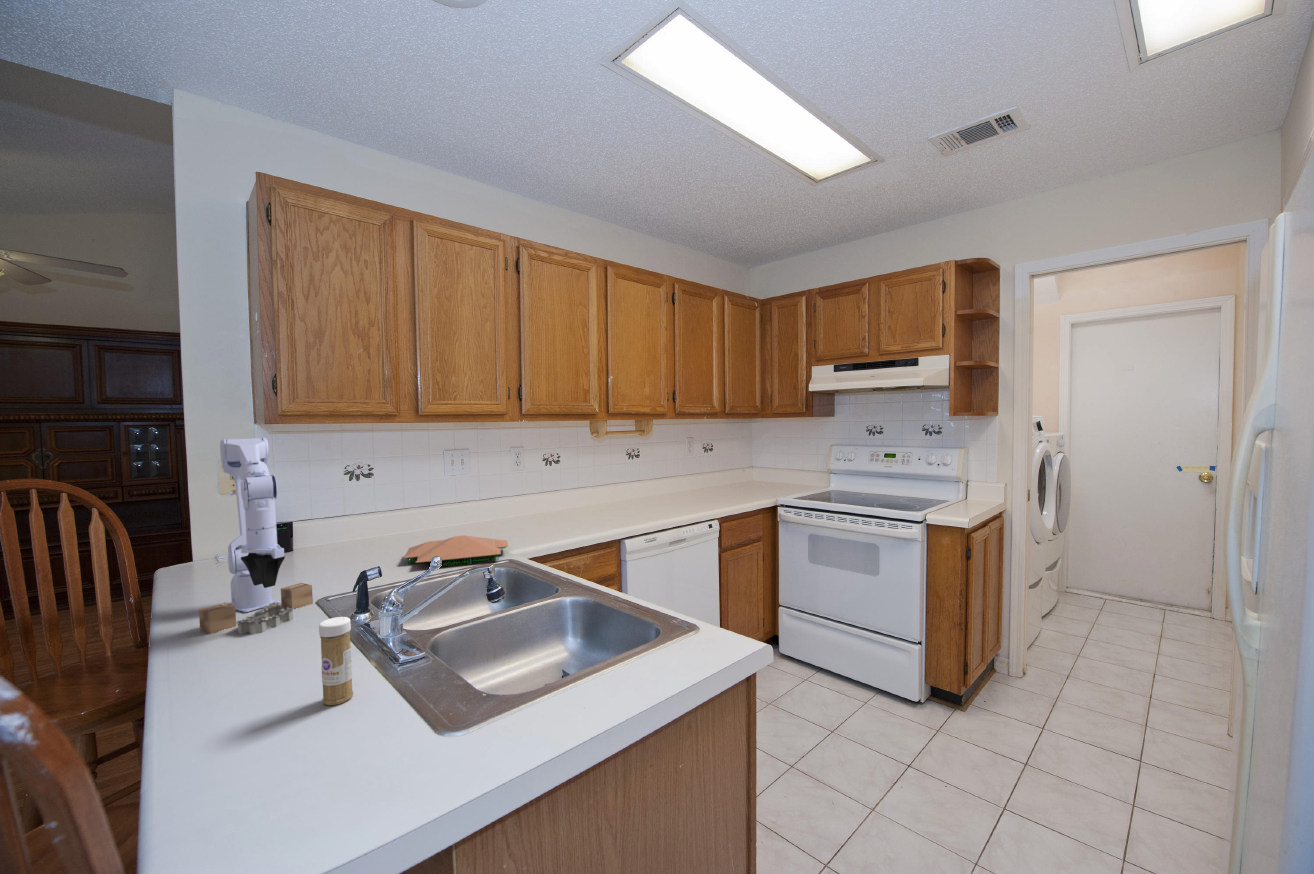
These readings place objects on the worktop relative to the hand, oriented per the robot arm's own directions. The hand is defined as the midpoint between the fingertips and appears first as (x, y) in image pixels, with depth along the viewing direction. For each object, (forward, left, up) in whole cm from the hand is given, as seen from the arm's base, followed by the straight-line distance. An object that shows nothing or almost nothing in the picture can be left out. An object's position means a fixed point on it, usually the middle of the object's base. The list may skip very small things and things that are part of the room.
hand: (264, 585), depth 126 cm
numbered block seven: (-8, -6, -10) cm, 14 cm away
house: (-6, +62, -10) cm, 63 cm away
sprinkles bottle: (+50, -13, -10) cm, 53 cm away
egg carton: (0, 0, -10) cm, 10 cm away
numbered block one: (-8, +11, -10) cm, 17 cm away
